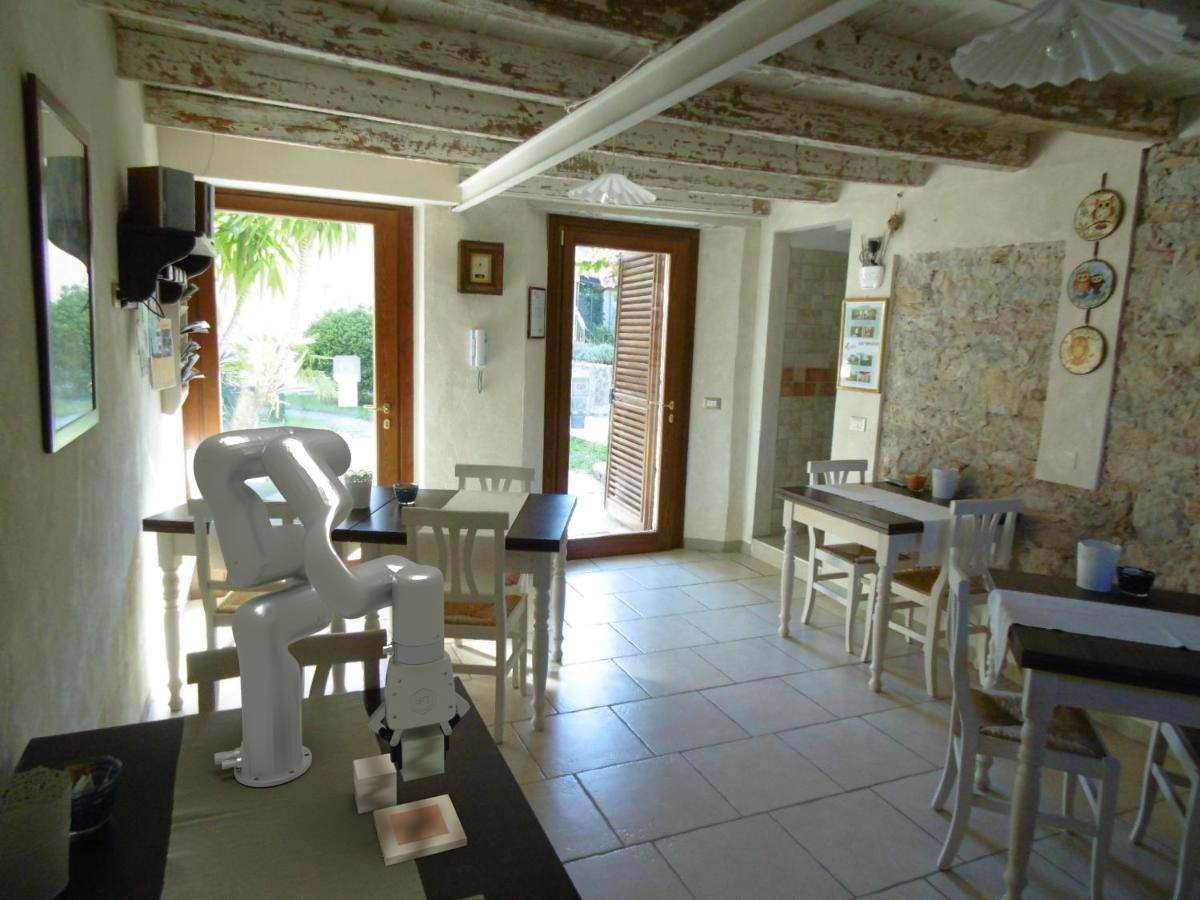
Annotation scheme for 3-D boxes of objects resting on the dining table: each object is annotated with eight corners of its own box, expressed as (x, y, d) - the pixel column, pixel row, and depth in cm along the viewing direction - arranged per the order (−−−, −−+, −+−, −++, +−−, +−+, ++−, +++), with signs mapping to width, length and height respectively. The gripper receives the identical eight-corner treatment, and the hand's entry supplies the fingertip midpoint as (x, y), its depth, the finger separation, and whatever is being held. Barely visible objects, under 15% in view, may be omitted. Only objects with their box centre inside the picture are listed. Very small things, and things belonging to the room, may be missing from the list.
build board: (385, 866, 109) (385, 857, 108) (373, 817, 119) (373, 810, 119) (466, 845, 114) (466, 837, 114) (447, 800, 124) (448, 793, 124)
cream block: (358, 814, 120) (358, 779, 120) (354, 793, 126) (353, 760, 125) (396, 805, 123) (396, 771, 122) (390, 785, 128) (390, 753, 127)
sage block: (403, 781, 111) (403, 743, 110) (396, 761, 116) (396, 724, 115) (444, 772, 113) (443, 735, 113) (435, 753, 119) (435, 717, 118)
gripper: (362, 667, 105) (365, 786, 108) (481, 649, 113) (481, 761, 115) (355, 647, 112) (358, 760, 114) (468, 631, 119) (468, 737, 122)
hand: (420, 759), depth 115 cm, fingers closed on sage block, 6 cm apart
